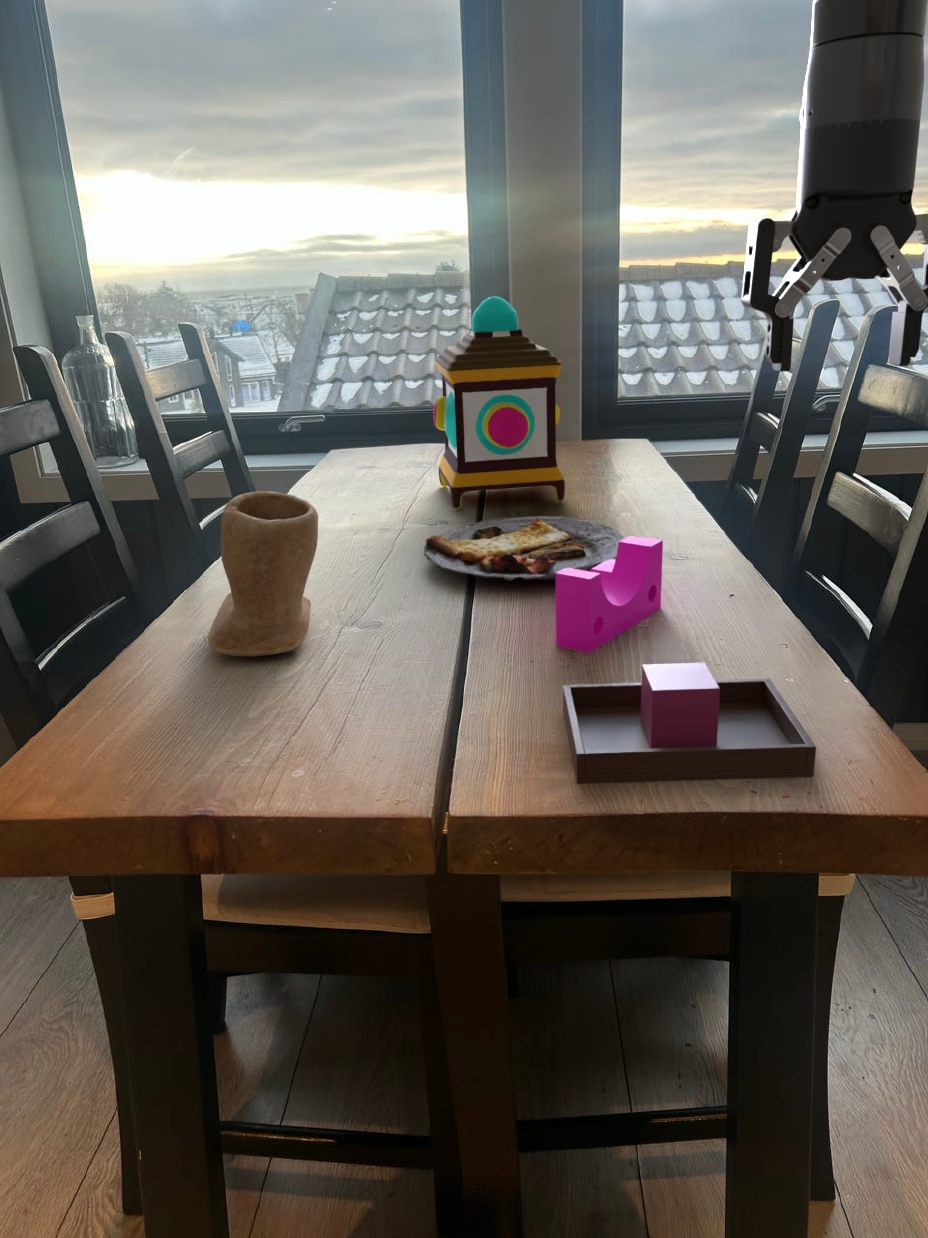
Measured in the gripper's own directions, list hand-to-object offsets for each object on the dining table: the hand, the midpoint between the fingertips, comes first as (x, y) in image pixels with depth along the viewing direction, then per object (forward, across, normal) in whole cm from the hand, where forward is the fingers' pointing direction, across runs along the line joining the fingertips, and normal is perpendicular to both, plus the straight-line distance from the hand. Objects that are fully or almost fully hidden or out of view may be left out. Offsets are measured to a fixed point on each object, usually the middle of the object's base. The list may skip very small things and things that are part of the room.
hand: (840, 367), depth 73 cm
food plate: (+28, -21, +45) cm, 57 cm away
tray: (+28, -12, -4) cm, 30 cm away
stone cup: (+27, -49, +22) cm, 60 cm away
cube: (+27, -12, -4) cm, 30 cm away
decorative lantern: (+27, -23, +81) cm, 89 cm away
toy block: (+28, -15, +22) cm, 38 cm away
